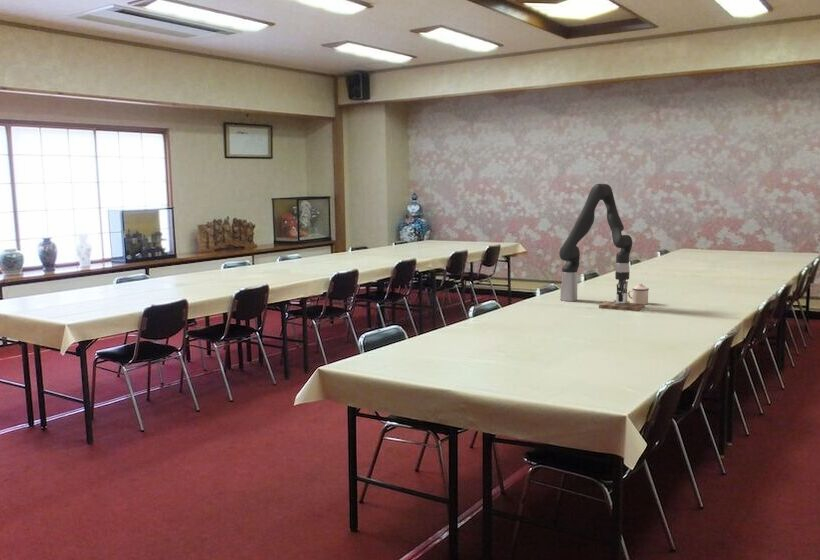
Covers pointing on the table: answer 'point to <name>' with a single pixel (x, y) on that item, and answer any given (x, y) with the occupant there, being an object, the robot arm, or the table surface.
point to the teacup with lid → (639, 294)
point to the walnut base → (622, 306)
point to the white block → (623, 298)
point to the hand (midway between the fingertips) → (621, 300)
